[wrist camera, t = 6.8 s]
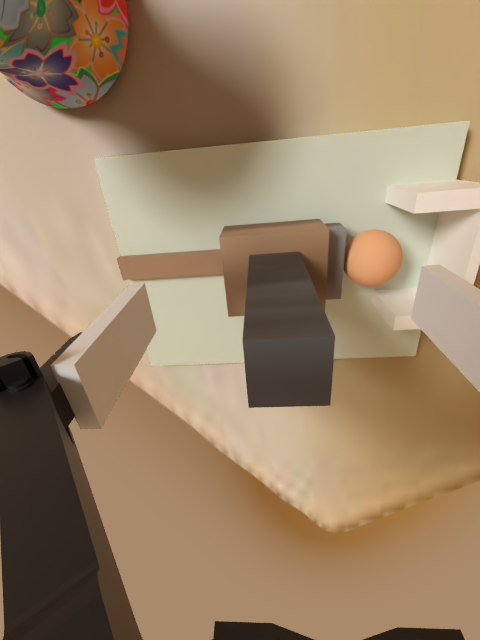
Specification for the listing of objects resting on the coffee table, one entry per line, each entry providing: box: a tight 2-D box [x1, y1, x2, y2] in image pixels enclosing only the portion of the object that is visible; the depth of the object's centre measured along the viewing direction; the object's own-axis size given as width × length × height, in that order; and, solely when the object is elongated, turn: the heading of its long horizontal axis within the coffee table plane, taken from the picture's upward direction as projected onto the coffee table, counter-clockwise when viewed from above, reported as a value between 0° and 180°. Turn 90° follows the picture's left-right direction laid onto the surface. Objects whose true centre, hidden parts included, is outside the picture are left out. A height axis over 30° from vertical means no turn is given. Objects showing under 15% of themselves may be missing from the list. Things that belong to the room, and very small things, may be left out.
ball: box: [343, 229, 403, 286], centre depth 19 cm, size 4×4×4 cm
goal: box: [372, 180, 480, 330], centre depth 19 cm, size 8×4×4 cm, turn 5°
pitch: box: [93, 121, 470, 366], centre depth 22 cm, size 16×22×2 cm
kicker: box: [219, 219, 347, 408], centre depth 15 cm, size 5×7×12 cm
